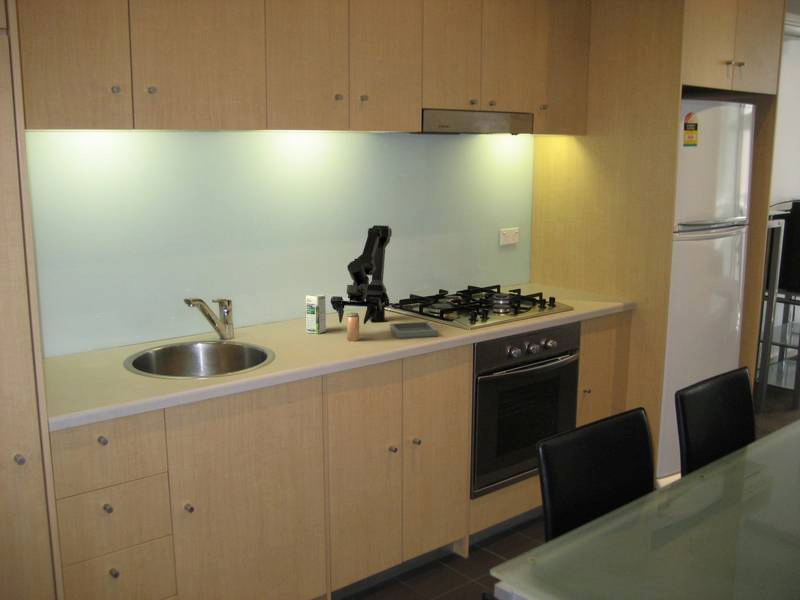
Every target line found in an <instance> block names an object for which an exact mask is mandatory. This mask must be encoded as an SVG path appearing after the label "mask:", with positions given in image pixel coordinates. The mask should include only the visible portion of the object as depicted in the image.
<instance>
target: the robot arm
mask: <svg viewBox="0 0 800 600" xmlns="http://www.w3.org/2000/svg"><path fill="white" fill-rule="evenodd" d="M392 233H393V231H392V228H390V226H389V225H380V224H379V225H378V224H377V225H375V224H374V225H373V226H372V227H368V230H367V237H366V241H365V244H364V248H363V250H362V253H361V254H360V255H359V256H358V257H356V258H354V260H352V261H350V262H349V263H348V264H347V271H348V273H349V276H350V278H351V280H352V281H353V282H352V284H347V285H346V295H347V298H348V299H343V296H338V295H337V296H331V298H330V302H329V303H330V304H331V306H332V309H333V310H335V311H336V312H337V313H338V322H339V324H342V321H343V318H344V313H345V310H344V309H345V307H347V306H349V307H358V308H359V307H364V308H366V311H365V315H364V318H363V325H366V323H367V322H369V321H370V322H371V323H379V322H380V323H381V322H388V320H387V319H386V311H385V310H386V308H387V307H390V299H389V298H390V297H389V296H388V292H387V288H386V286H385V284H384V271H385V270H384V269H385V260H386V259H385V257H386V247H387V246H388V245H389V244H390V242H391V237H392ZM369 276H371V282H370V278H369ZM369 282H370V283H369Z"/></svg>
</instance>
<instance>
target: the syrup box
mask: <svg viewBox="0 0 800 600" xmlns="http://www.w3.org/2000/svg"><path fill="white" fill-rule="evenodd" d="M326 312H327V311H326V295H323V294H307V295H305V315H306V316H305V318H306V320H305V321H306V328H305V329H306V334H308V333H309V334H316V335H320V334H323V333H325V332H326V331H327V318H326V317H327V316H326V315H327V313H326Z"/></svg>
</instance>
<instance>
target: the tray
mask: <svg viewBox="0 0 800 600" xmlns="http://www.w3.org/2000/svg"><path fill="white" fill-rule="evenodd" d="M389 331H390V332H391V333H392V334H393V335H394V336H395V337H396V338H397V339H398V340H405V339H406V340H407V339H421V338H422V339H423V338H436V337H438V330H437V329H436V328H435V327H434V326H433V325H432V324H431V323H429V322H428V321H417V322H414V321H413V322H400V323H398V322H396V323H390V324H389Z"/></svg>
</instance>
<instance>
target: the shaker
mask: <svg viewBox="0 0 800 600" xmlns="http://www.w3.org/2000/svg"><path fill="white" fill-rule="evenodd" d="M346 331H347V332H346V335H347V337H346V339H347V340H348V342H351V341H355V342H359V341H360V315H359V313H358V312H349V313H347V315H346Z"/></svg>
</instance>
